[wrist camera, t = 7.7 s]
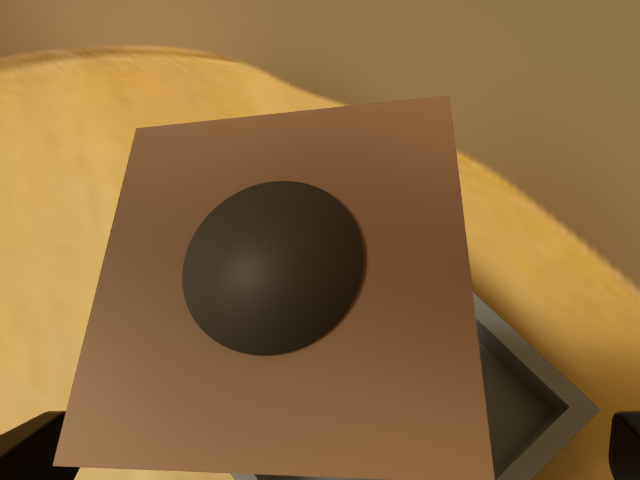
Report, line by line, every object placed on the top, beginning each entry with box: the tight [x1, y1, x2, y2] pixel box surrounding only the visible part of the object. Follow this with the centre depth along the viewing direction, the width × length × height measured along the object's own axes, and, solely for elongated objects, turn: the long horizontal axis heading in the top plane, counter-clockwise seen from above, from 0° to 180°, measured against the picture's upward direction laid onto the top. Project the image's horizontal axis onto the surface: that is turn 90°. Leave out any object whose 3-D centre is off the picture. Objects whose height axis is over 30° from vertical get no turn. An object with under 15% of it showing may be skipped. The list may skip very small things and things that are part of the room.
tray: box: [231, 293, 601, 480], centre depth 16 cm, size 10×10×2 cm
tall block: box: [53, 96, 495, 480], centre depth 11 cm, size 4×4×13 cm
